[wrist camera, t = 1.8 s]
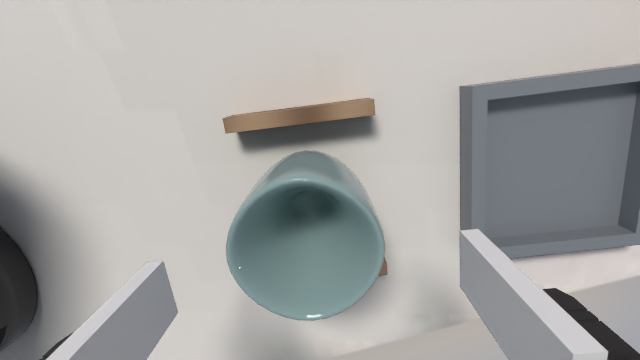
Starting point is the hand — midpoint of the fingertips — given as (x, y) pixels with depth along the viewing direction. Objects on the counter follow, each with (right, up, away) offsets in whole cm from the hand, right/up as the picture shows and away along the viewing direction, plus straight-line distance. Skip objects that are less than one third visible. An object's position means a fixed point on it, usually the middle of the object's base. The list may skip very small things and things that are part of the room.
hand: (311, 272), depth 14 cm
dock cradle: (+18, +5, +10) cm, 21 cm away
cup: (0, +3, +11) cm, 12 cm away
